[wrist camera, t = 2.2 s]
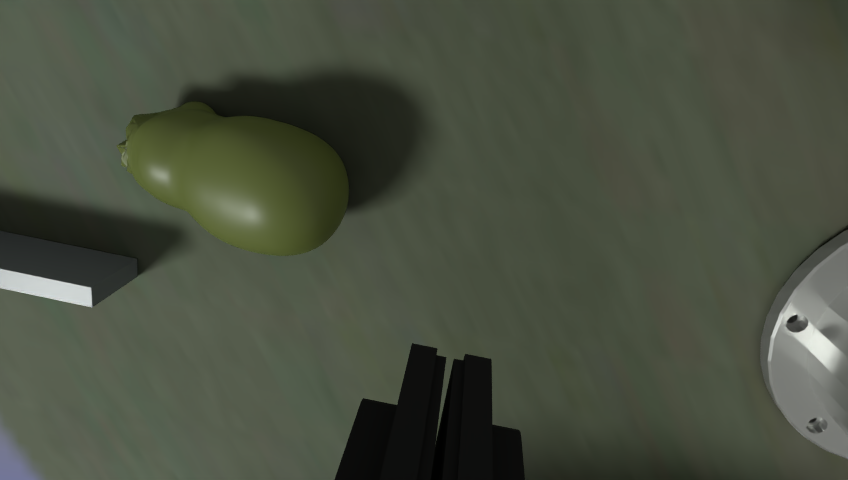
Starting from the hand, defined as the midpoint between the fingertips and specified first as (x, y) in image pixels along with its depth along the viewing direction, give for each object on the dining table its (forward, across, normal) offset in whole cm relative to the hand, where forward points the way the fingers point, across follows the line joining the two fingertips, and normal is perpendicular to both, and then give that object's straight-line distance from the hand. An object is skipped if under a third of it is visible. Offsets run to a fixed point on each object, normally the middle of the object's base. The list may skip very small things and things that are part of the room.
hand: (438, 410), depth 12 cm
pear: (+15, +10, 0) cm, 18 cm away
